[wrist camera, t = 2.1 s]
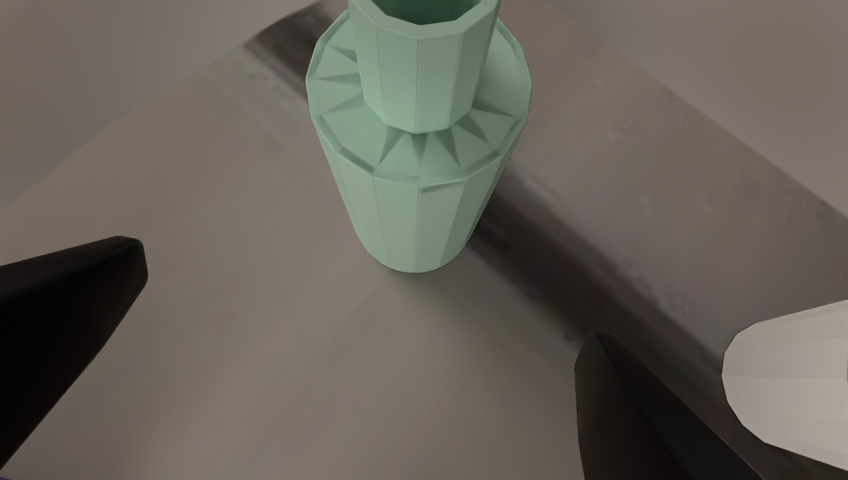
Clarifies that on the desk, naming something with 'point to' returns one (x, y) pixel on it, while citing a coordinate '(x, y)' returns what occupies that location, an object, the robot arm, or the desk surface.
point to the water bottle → (418, 120)
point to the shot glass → (794, 382)
